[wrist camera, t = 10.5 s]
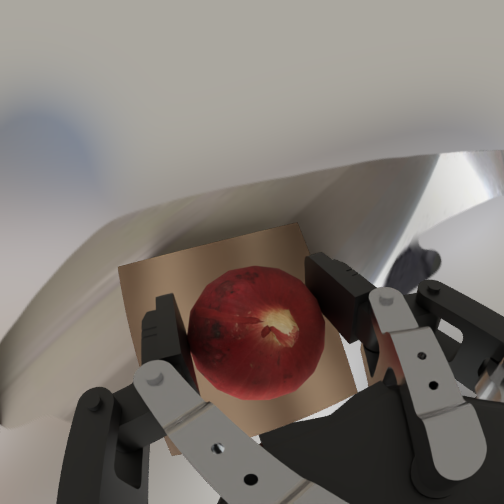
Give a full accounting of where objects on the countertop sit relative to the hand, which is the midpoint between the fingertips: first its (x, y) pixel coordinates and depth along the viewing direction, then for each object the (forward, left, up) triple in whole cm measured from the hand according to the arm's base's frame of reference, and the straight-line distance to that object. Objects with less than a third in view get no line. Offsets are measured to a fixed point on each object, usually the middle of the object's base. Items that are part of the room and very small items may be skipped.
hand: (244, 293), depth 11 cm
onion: (0, -2, -4) cm, 5 cm away
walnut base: (0, -2, -12) cm, 12 cm away
